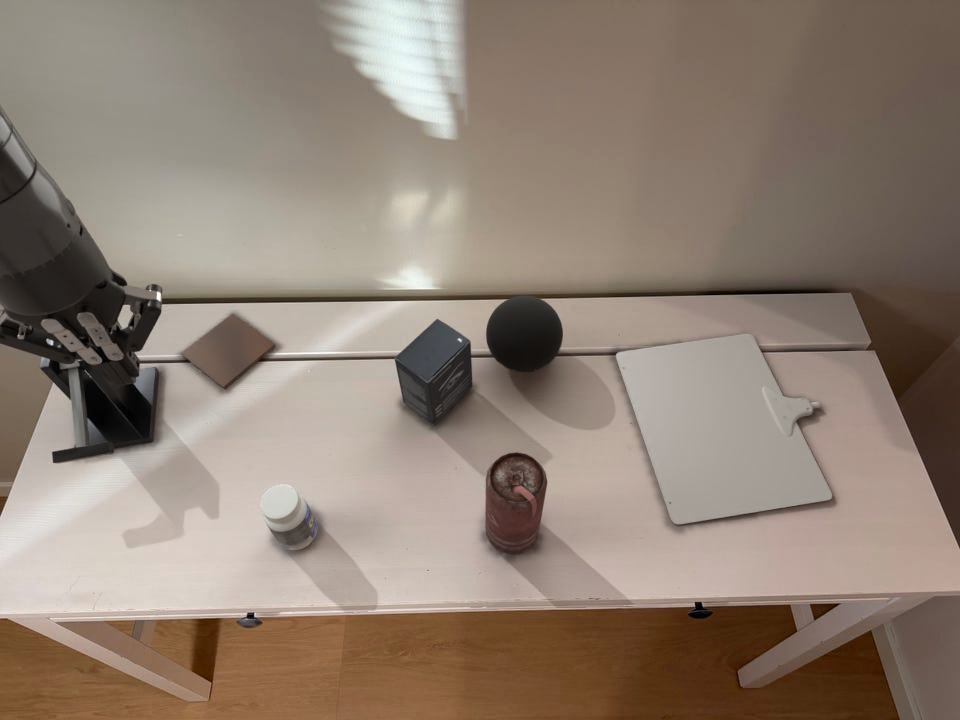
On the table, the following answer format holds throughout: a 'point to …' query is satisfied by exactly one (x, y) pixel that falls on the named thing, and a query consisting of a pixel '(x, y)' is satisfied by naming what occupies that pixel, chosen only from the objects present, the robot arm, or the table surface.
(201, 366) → the coaster
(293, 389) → the table surface
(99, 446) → the lever
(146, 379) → the bracket
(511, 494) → the can
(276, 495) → the pill bottle
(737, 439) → the clipboard
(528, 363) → the decorative ball
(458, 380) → the box
